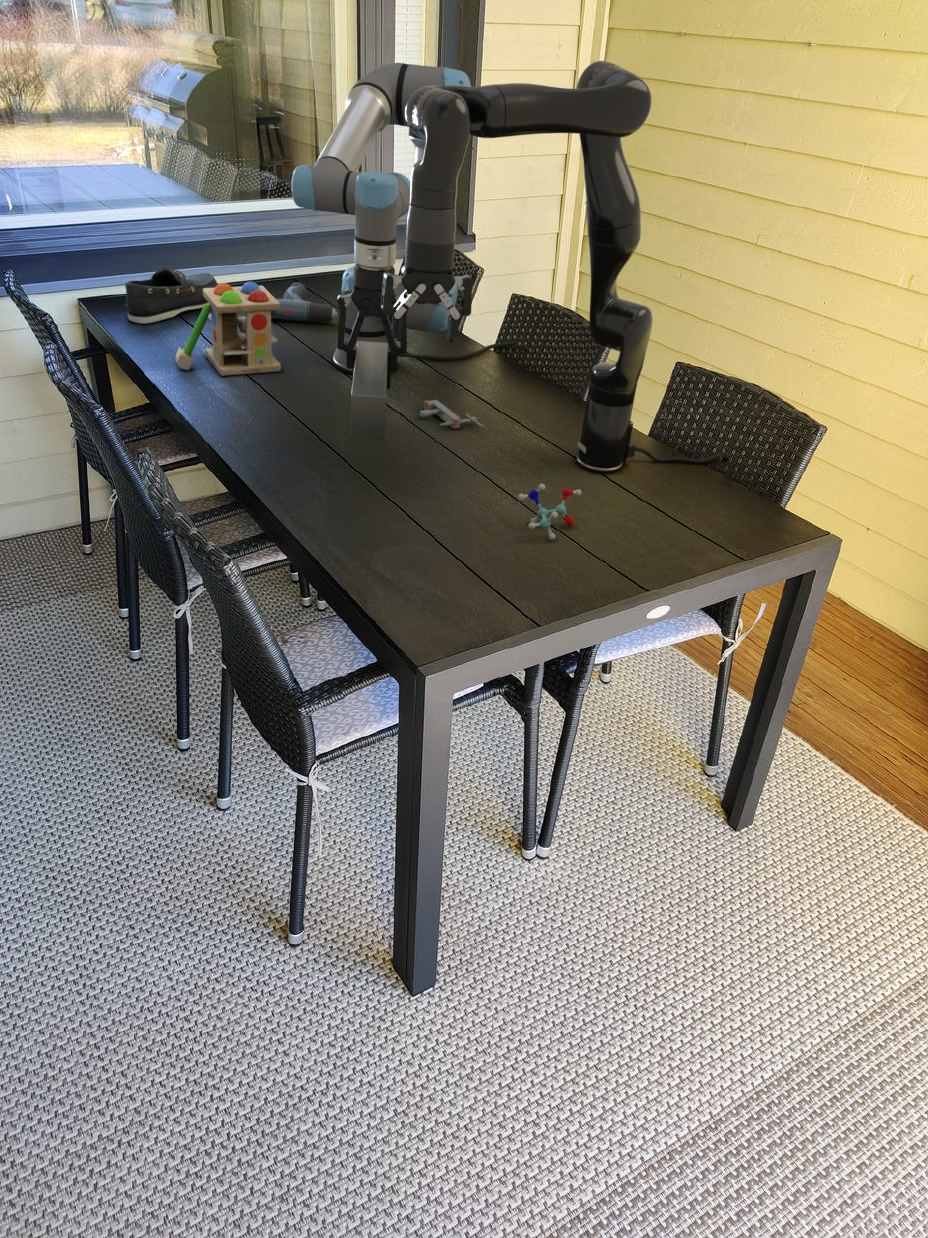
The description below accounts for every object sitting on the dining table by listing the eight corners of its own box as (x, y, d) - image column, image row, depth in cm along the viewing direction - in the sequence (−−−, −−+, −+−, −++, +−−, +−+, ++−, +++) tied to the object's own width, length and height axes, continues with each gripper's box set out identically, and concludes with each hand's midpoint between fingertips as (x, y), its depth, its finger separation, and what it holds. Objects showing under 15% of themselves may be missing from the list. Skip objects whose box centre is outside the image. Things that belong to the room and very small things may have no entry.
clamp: (412, 401, 215) (452, 396, 220) (411, 411, 216) (451, 405, 221) (445, 428, 205) (486, 422, 209) (444, 438, 206) (485, 432, 210)
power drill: (344, 304, 276) (335, 327, 259) (277, 298, 275) (264, 321, 258) (344, 285, 273) (335, 306, 256) (277, 279, 272) (264, 300, 255)
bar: (356, 380, 196) (357, 340, 191) (386, 382, 196) (388, 342, 192) (350, 438, 173) (351, 394, 169) (384, 440, 174) (385, 396, 169)
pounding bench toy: (183, 379, 220) (176, 299, 210) (169, 357, 231) (162, 280, 221) (282, 371, 230) (280, 294, 220) (264, 350, 240) (262, 276, 230)
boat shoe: (237, 302, 271) (234, 263, 265) (145, 325, 247) (140, 283, 242) (203, 293, 276) (200, 255, 271) (110, 316, 253) (104, 274, 247)
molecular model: (578, 533, 169) (560, 478, 167) (528, 548, 172) (510, 494, 171) (592, 523, 179) (575, 471, 178) (544, 538, 183) (527, 486, 182)
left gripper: (321, 266, 176) (321, 389, 189) (426, 274, 177) (419, 395, 191) (323, 255, 182) (323, 375, 195) (425, 262, 184) (419, 381, 197)
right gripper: (388, 240, 145) (384, 348, 154) (481, 243, 148) (472, 348, 157) (380, 228, 151) (377, 332, 160) (470, 231, 154) (461, 333, 163)
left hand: (371, 385), depth 193 cm, fingers closed on bar, 6 cm apart
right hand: (424, 340), depth 159 cm, fingers open, 8 cm apart
